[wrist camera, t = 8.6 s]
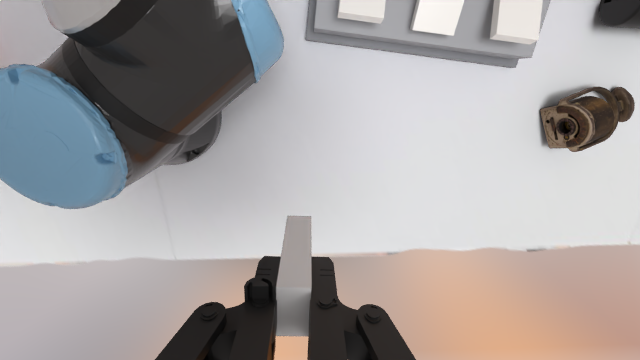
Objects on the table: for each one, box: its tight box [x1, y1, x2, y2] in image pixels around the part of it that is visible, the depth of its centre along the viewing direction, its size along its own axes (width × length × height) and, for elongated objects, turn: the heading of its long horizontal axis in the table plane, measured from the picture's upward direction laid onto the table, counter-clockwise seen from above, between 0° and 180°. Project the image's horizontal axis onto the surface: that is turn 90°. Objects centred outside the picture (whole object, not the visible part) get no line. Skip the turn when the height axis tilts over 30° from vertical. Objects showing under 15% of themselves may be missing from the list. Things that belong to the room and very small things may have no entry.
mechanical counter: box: [540, 87, 635, 152], centre depth 42 cm, size 7×13×10 cm
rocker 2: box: [490, 0, 543, 45], centre depth 34 cm, size 5×8×1 cm, turn 173°
